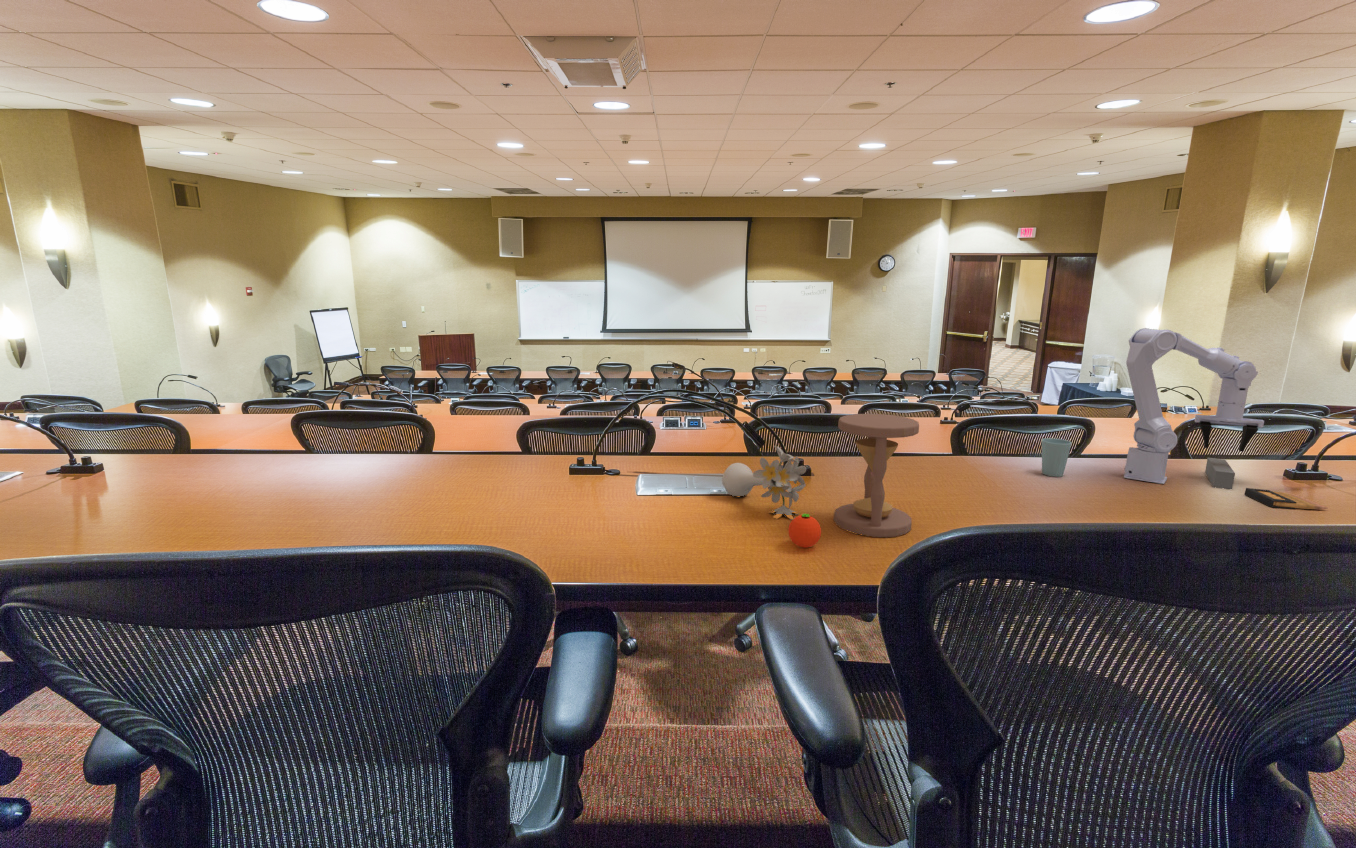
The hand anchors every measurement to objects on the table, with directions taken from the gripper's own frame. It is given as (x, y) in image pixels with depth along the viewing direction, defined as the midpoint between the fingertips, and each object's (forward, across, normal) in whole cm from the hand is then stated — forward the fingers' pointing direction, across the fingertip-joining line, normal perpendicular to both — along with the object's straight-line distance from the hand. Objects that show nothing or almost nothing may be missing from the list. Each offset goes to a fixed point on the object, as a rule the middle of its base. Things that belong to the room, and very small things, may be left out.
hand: (1223, 449), depth 173 cm
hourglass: (+10, -74, -91) cm, 117 cm away
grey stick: (+10, 0, 0) cm, 10 cm away
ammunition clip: (+8, +5, -19) cm, 21 cm away
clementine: (+10, -82, -112) cm, 139 cm away
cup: (+10, -40, -19) cm, 46 cm away
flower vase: (+10, -101, -94) cm, 138 cm away
